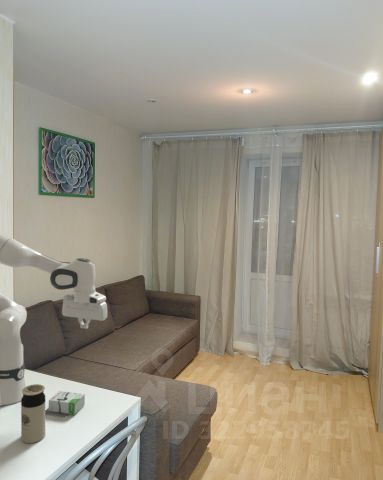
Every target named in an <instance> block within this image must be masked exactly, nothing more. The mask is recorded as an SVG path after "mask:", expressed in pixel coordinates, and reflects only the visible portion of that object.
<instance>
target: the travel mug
mask: <svg viewBox="0 0 383 480" xmlns="http://www.w3.org/2000/svg"><path fill="white" fill-rule="evenodd" d="M44 391H45V386H44V385H42V384H30V385H26V387H25V388H24V389H23V390H22V393H23V397H22V399H21V401H20V403H21V404H20V405H21V406H20V409H21V410H20V412H21V413H20V415H21V417H20V423H21V424H20V429H21V430H20V431H21V436H20V437H21V441H22V442H23V443H26V444H33V443H37V442H39V441H41V440H43V439H44V438H45V436H46V414H45V410H46V394H45V392H44Z"/></svg>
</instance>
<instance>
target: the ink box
mask: <svg viewBox="0 0 383 480" xmlns="http://www.w3.org/2000/svg"><path fill="white" fill-rule="evenodd" d="M85 395H86V394H85V393H79V392H72V391H65V390H59V391H58V392H56V393H55V394H54V395H53V396H52V397H51V398H49V399H48V408H47V409H48V410H49V411H53V412H60V413H66V414H68V415H76V414H77V413H78V412H79V411H80V410H81V409H82V408H84V406H85V403H86V402H85V400H86V398H85Z"/></svg>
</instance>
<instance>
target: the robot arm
mask: <svg viewBox="0 0 383 480" xmlns="http://www.w3.org/2000/svg"><path fill="white" fill-rule="evenodd" d="M0 264H1V265H4V266H7V267H11V268H21V267H31V268H36V269H39V270H41V271H44V272H45V273H48V274H50V276H49V281H50V284H51V286H52V287H53V288H55V289H56V290H62V291H63V290H70V289H73V294H71V295H70V294H66V295H63V298H62V310H61V314H62V316H63V317H70V318H77V321H78V323H79V325H80V328H81V329H86V330H87V329H89V324H90V323H91V320H93V321H105V320H106V319H107V318H108V304H107V302H106V300H107V297H106V296H105V294H102V293H99V292H98V291H96V286H95V282H96V278H97V277H96V267H95V266H96V265H95V263H94V261H93V260H91V259H88V258H81V257H80V258H76V259H75V260H73V261H72V262H70V261H59V260H57V259H54V258H52V257H50V256H47V255H45V254H42V253H40V252H38V251H36V250H35V249H33V248H31V247H29V246H27V245H25V244H23V243H22V242H20V241H18V240H16V239H14V238H12V237H10V236H8V235H6V234H3V233H0ZM27 315H28V312H27V309H26V308H25V306H23V305H22V304H18V303H16V302H15V301H14V300H12V299H11V298H9V297H7V296H6V295H4V294H3V293H2V292H0V407H1V406H7V405H8V406H9V405H12V404H17V403H18V402H21V399H22V397H23V393H22V390H23V389H24V388H25V387H27V385H26V381H25V366H26V365H25V362H24V344H22V340H21V328H22V326H23V325H24V324H25V323H26V321H27V318H28V317H27ZM83 320H85V323H84V321H83Z"/></svg>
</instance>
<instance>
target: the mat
mask: <svg viewBox="0 0 383 480" xmlns="http://www.w3.org/2000/svg"><path fill="white" fill-rule="evenodd" d="M45 415H51V416H55V417H58V418H59V417H60V418H66V417H68V416H69V414H66V413H60V412H53V411H49V410H48V408H46V409H45Z"/></svg>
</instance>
